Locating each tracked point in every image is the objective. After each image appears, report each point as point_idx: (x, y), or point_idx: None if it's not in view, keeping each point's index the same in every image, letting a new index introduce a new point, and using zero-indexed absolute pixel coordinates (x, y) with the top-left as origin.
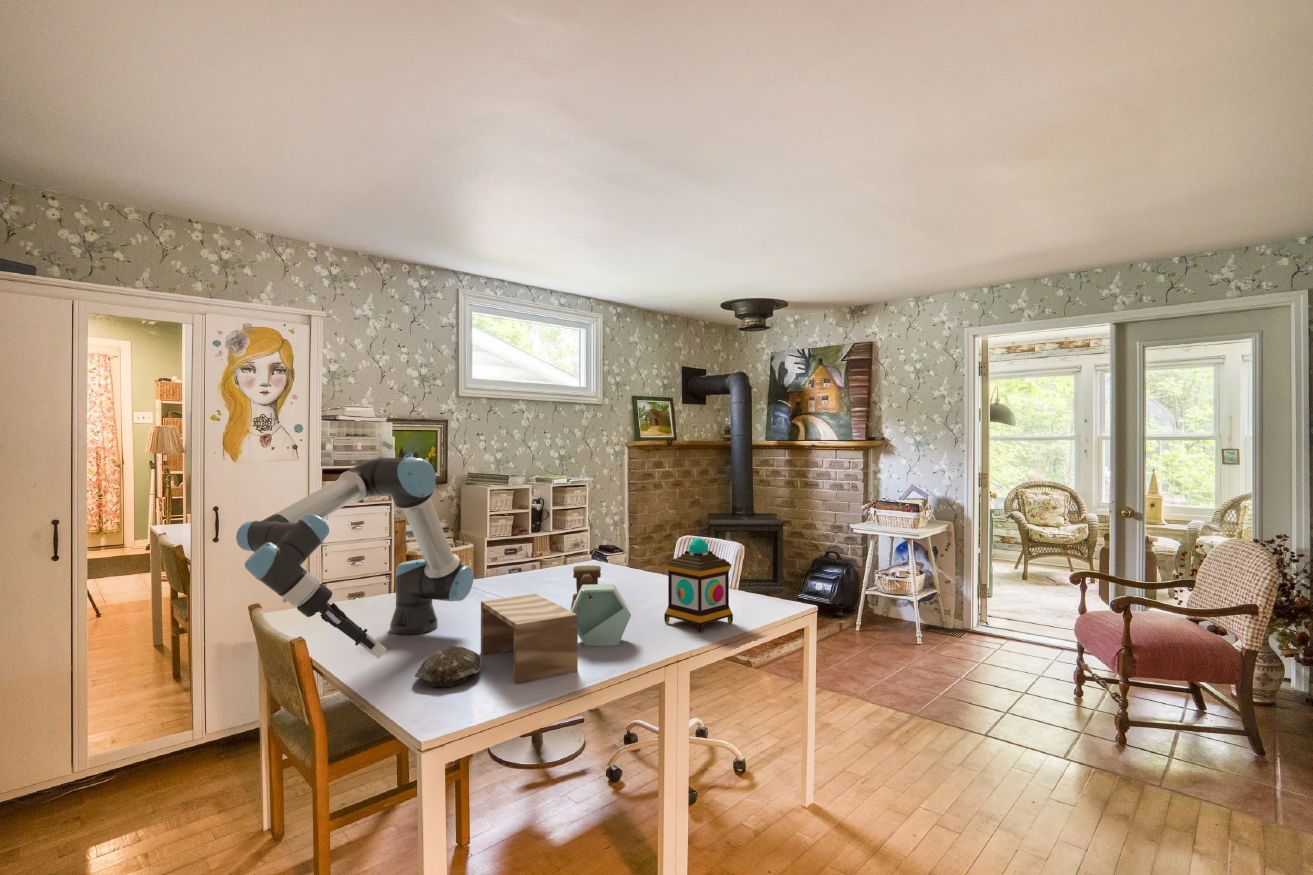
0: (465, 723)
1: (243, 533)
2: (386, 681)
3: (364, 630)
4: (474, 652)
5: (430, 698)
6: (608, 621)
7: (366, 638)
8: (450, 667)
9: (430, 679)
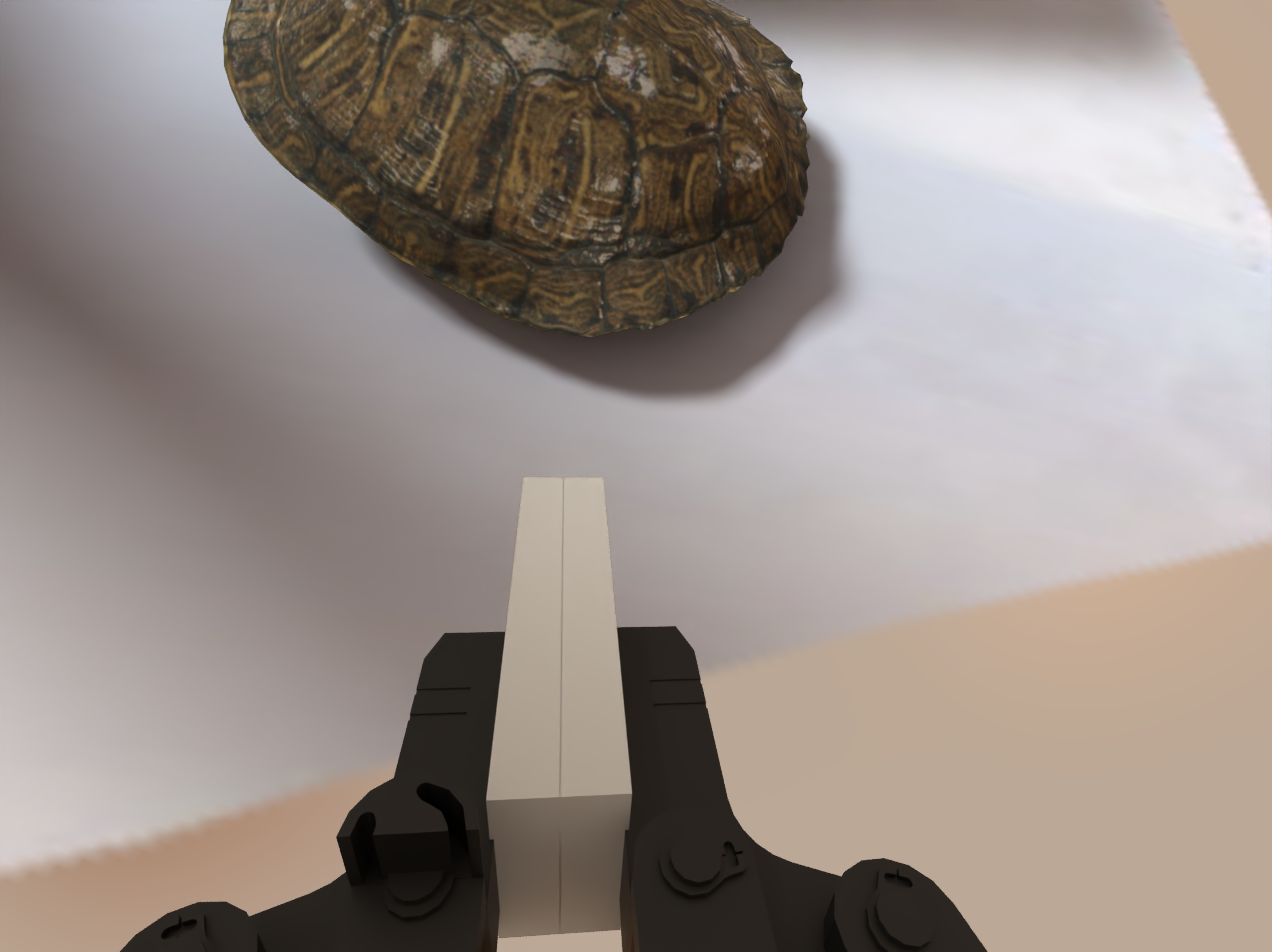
0: (1265, 286)
1: None
2: (368, 518)
3: (423, 862)
4: None
5: (861, 341)
6: None
7: (724, 808)
8: (762, 101)
9: (740, 268)
